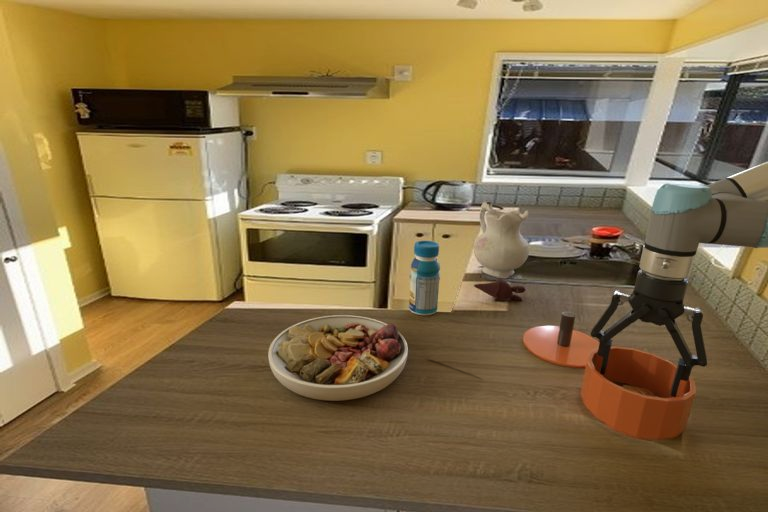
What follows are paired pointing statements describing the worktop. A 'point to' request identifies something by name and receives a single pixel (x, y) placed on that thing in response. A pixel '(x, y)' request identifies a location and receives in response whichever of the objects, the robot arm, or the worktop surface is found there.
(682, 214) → the robot arm
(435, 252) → the beverage bottle
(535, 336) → the pot lid
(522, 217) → the ceramic pitcher
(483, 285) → the icecream
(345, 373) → the bowl
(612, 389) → the pot
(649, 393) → the pastry
